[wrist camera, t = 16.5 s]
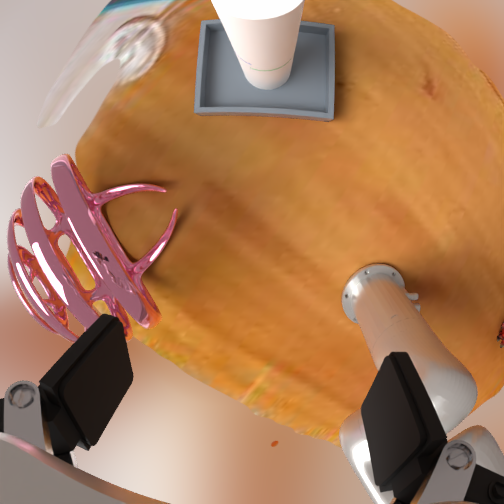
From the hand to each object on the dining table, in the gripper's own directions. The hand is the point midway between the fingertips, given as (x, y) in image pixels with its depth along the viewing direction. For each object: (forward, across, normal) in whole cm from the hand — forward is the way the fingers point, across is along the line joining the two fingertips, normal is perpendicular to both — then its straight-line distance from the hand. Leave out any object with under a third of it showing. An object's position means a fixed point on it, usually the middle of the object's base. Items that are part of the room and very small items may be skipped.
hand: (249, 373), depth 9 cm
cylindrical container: (+37, +3, -21) cm, 42 cm away
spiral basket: (+38, +26, +7) cm, 46 cm away
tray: (+37, +3, -21) cm, 43 cm away
